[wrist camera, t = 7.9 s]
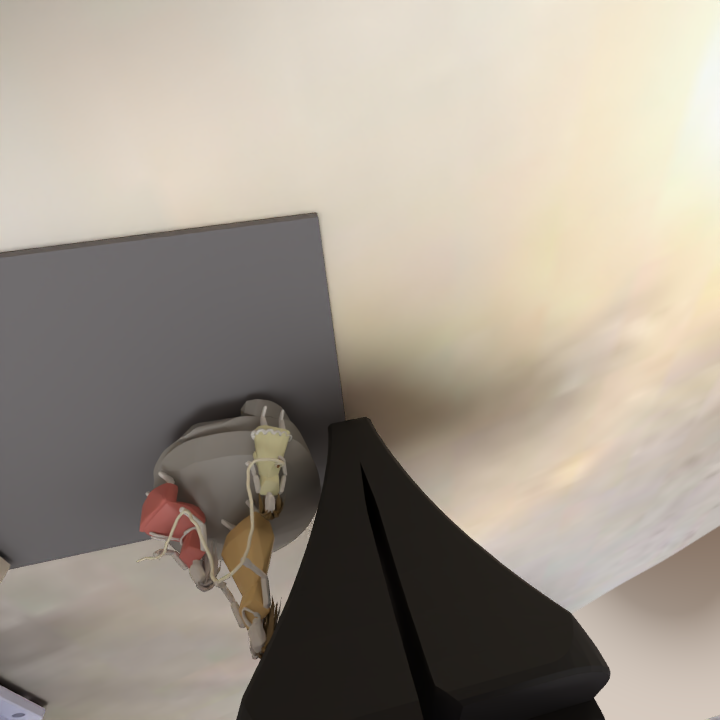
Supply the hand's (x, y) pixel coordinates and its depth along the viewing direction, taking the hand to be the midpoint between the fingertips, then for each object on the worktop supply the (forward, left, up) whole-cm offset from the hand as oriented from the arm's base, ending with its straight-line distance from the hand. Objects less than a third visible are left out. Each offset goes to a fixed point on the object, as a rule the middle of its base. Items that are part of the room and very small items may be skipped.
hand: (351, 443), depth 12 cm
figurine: (0, +3, -1) cm, 3 cm away
